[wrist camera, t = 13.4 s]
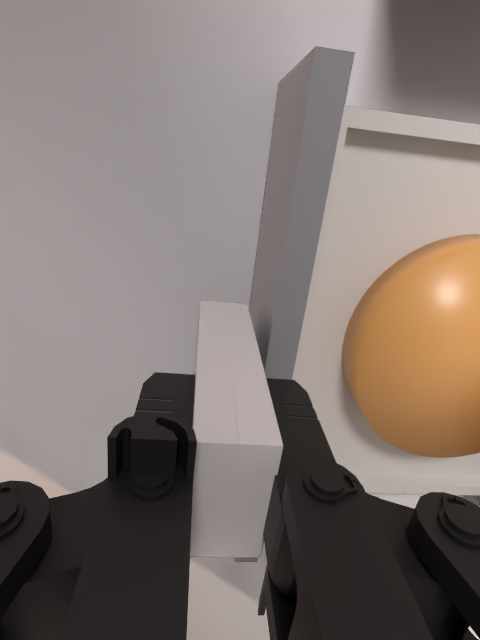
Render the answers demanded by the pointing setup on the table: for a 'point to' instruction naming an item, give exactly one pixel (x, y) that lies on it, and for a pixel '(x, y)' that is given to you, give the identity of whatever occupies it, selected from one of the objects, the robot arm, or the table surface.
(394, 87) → the table surface
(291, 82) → the tray
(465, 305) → the orange dome cap
